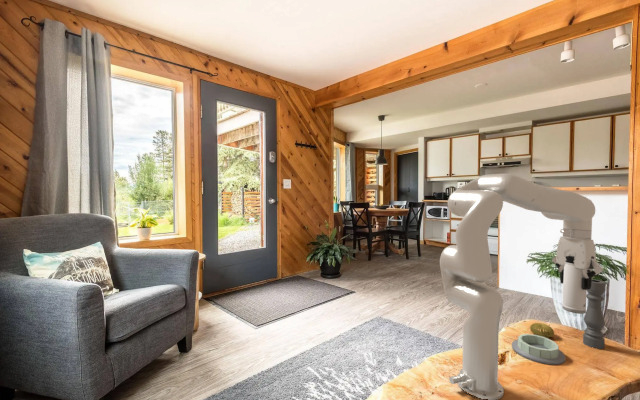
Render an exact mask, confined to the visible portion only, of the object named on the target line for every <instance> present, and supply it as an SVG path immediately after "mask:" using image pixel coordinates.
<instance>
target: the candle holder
mask: <svg viewBox="0 0 640 400" xmlns="http://www.w3.org/2000/svg"><path fill="white" fill-rule="evenodd" d="M605 292H606V282H605V280H604V281H603V280H600V279H594V278H592V282H591V289H588V290H587V297H586V299H587V307H586V313H584V317H583V322H584V323H585V325H586V328H585V329H584V331H583V332H584V333H583V334H582V343H583V344H584V345H585V346H586V345H587V346H586V347H589V348H592V347H593V348H592V349H595V348H597V350H604V349H605V343H606V341H605V340H606V339H605V338H604V337H605V334H604V333H603V332H602V331H603V328H604V327H605V326H606V325H605V324H606V322H605V321H606V320H605V318H604V314H603V310H602V306H603V305H602V303H603V301H604V300H605V297H603V295H604V294H605ZM603 348H604V349H603Z"/></svg>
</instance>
